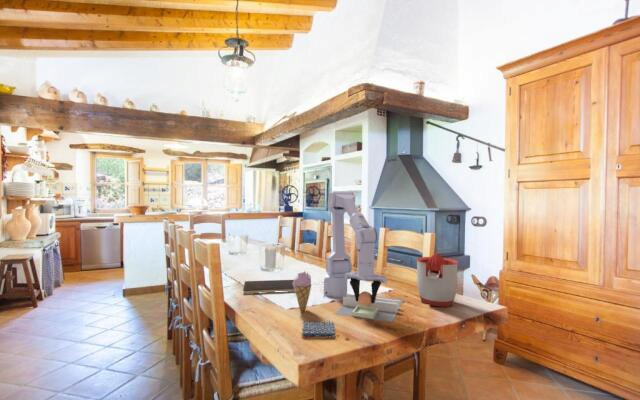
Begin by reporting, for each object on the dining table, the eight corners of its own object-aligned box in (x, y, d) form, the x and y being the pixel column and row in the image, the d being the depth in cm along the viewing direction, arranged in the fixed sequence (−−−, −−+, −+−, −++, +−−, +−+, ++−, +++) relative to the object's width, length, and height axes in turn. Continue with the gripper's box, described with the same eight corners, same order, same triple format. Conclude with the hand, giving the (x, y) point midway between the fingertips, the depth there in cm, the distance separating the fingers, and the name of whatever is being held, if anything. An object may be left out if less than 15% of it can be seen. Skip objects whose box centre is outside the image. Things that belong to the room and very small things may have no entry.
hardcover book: (297, 293, 141) (297, 288, 141) (243, 295, 137) (243, 290, 137) (293, 284, 157) (293, 279, 157) (244, 285, 153) (244, 280, 153)
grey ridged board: (334, 316, 112) (334, 304, 112) (355, 296, 136) (355, 286, 136) (392, 325, 104) (392, 313, 104) (403, 302, 129) (403, 292, 129)
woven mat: (334, 326, 105) (334, 320, 105) (336, 340, 94) (336, 333, 94) (302, 326, 104) (302, 320, 104) (300, 340, 94) (300, 333, 94)
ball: (356, 307, 111) (356, 292, 111) (360, 303, 115) (360, 289, 115) (370, 309, 109) (370, 294, 109) (374, 304, 113) (374, 290, 113)
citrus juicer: (411, 306, 124) (411, 254, 124) (420, 294, 139) (420, 248, 139) (455, 313, 116) (456, 257, 116) (459, 300, 132) (460, 251, 132)
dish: (351, 315, 110) (351, 311, 110) (357, 309, 117) (357, 305, 117) (373, 319, 107) (373, 314, 107) (378, 312, 114) (378, 308, 114)
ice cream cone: (296, 316, 111) (296, 273, 111) (289, 311, 117) (290, 269, 117) (313, 313, 115) (314, 271, 115) (306, 308, 120) (306, 268, 120)
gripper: (342, 262, 111) (341, 302, 111) (384, 266, 106) (384, 307, 105) (348, 259, 118) (347, 296, 118) (388, 262, 112) (388, 301, 112)
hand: (365, 301), depth 112 cm, fingers closed on ball, 5 cm apart
